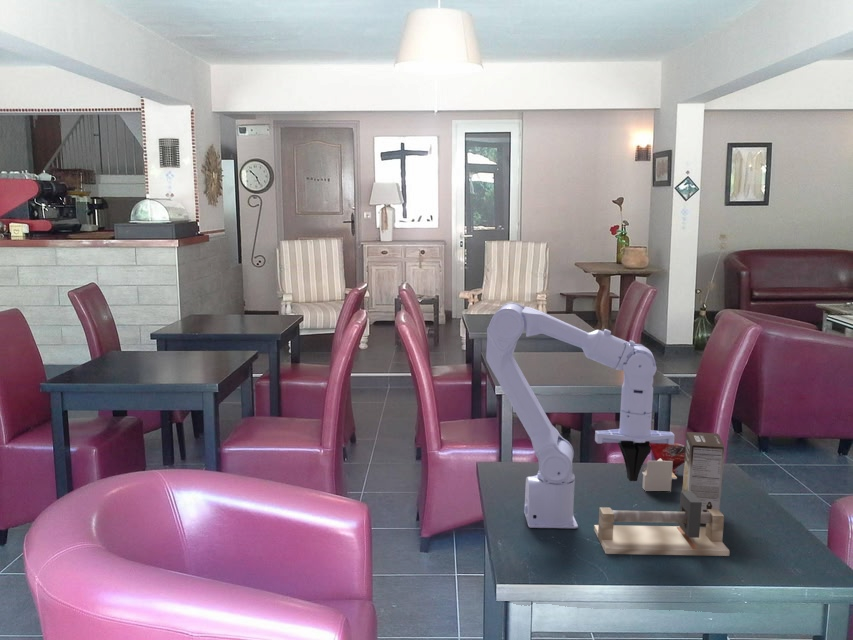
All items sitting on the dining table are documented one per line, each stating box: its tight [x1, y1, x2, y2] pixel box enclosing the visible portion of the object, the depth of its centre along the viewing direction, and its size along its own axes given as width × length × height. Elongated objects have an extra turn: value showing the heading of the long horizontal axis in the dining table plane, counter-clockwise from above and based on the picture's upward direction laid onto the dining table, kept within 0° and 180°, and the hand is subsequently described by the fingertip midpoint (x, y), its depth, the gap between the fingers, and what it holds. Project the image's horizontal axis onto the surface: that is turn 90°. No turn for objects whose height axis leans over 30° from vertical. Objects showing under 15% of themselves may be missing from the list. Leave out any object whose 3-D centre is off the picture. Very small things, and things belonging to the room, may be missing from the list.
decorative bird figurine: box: [649, 442, 685, 474], centre depth 176 cm, size 3×18×10 cm, turn 112°
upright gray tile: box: [677, 490, 702, 538], centre depth 139 cm, size 2×5×7 cm, turn 0°
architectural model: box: [641, 458, 678, 493], centre depth 166 cm, size 3×7×7 cm, turn 89°
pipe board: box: [593, 506, 730, 557], centre depth 139 cm, size 22×10×6 cm, turn 90°
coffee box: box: [681, 431, 726, 525], centre depth 151 cm, size 9×6×16 cm
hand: (632, 479), depth 144 cm, fingers closed
